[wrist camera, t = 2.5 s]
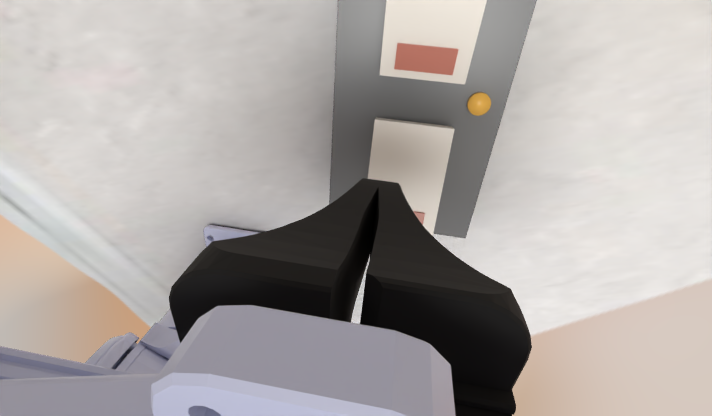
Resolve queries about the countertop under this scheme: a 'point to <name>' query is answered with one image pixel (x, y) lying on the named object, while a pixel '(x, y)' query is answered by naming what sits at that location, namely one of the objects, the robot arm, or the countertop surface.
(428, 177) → the rocker
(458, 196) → the double switch panel
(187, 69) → the countertop surface
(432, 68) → the rocker
